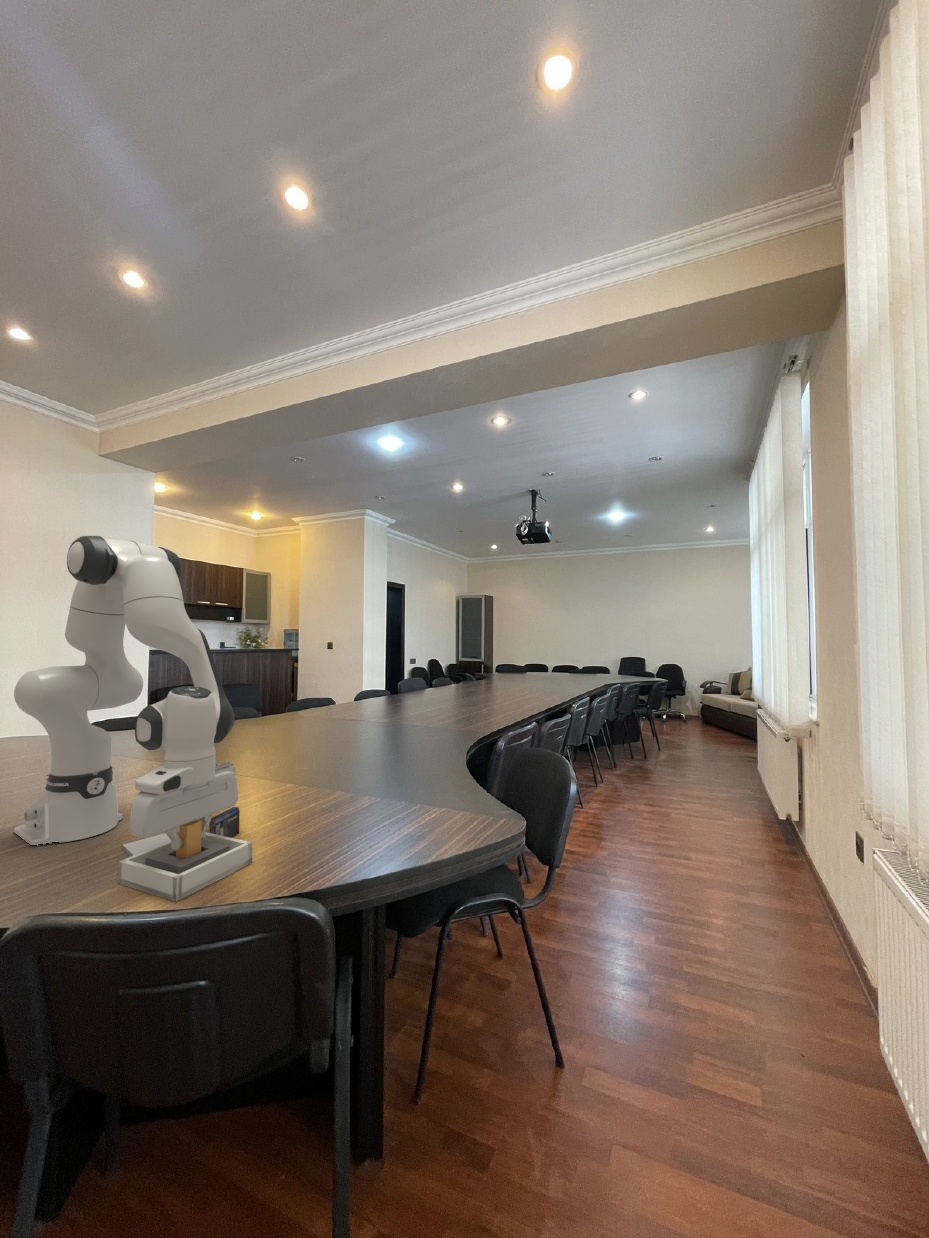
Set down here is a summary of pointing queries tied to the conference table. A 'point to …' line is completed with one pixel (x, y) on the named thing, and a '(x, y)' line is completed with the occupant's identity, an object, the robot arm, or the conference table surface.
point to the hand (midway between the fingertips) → (188, 844)
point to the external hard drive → (144, 844)
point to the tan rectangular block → (190, 839)
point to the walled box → (184, 867)
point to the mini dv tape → (225, 823)
